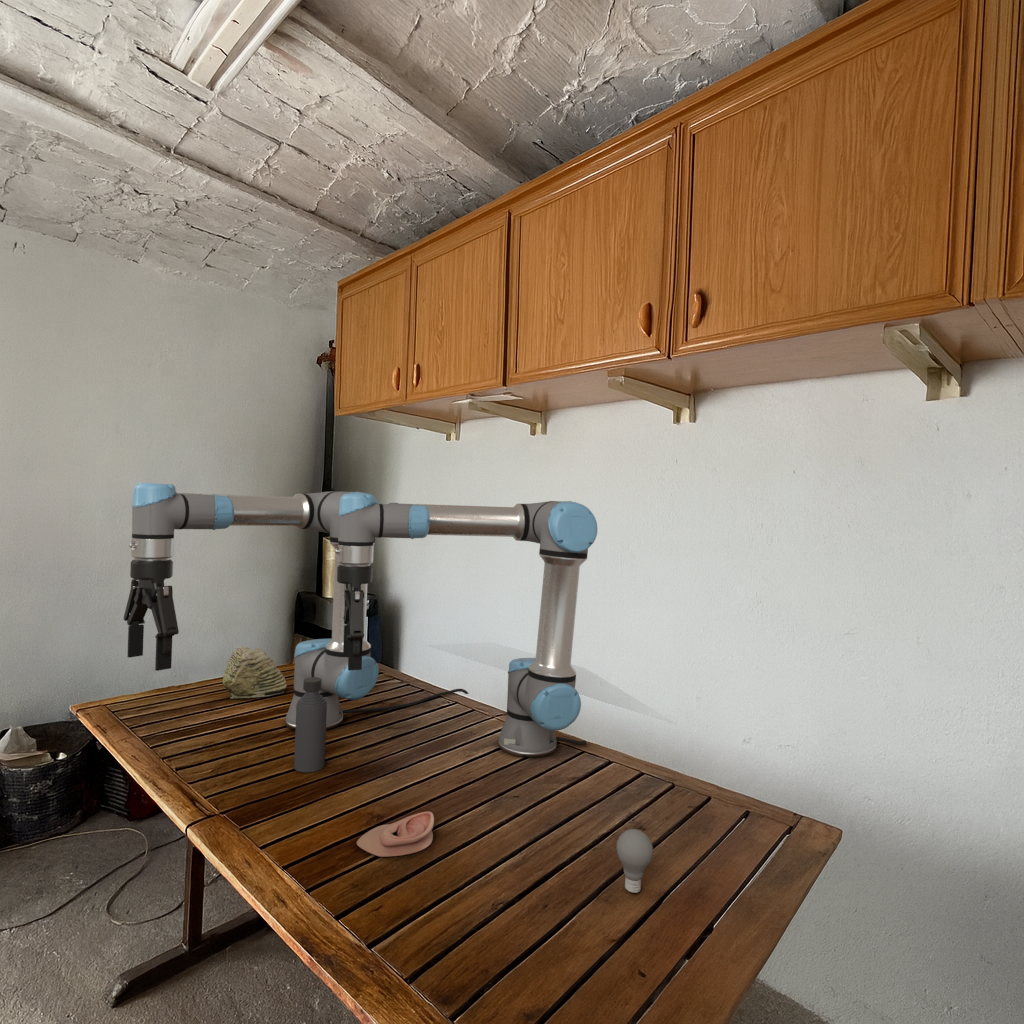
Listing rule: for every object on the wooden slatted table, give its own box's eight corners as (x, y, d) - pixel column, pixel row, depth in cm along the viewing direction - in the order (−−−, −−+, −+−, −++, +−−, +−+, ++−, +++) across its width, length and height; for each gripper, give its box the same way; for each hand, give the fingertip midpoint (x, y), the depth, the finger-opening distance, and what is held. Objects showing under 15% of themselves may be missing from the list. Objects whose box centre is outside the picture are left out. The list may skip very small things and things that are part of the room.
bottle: (319, 773, 145) (322, 686, 145) (289, 771, 145) (292, 684, 145) (328, 761, 152) (331, 677, 151) (299, 759, 152) (303, 676, 151)
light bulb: (610, 879, 108) (613, 822, 108) (644, 879, 109) (647, 822, 109) (619, 902, 102) (622, 840, 102) (655, 901, 103) (658, 840, 103)
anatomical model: (349, 829, 113) (376, 800, 125) (348, 851, 113) (375, 820, 125) (420, 841, 111) (440, 810, 122) (419, 863, 111) (439, 830, 122)
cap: (318, 691, 146) (318, 682, 146) (300, 691, 146) (301, 681, 146) (323, 686, 150) (324, 677, 150) (306, 685, 150) (306, 676, 150)
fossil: (218, 695, 195) (220, 647, 195) (278, 685, 208) (279, 640, 207) (228, 703, 189) (230, 653, 188) (289, 692, 201) (290, 645, 201)
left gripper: (108, 554, 134) (104, 654, 134) (159, 565, 118) (155, 678, 119) (146, 552, 140) (143, 648, 140) (199, 563, 124) (195, 671, 124)
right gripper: (333, 558, 149) (330, 648, 149) (341, 571, 125) (338, 678, 125) (366, 558, 151) (363, 647, 151) (380, 571, 127) (376, 676, 128)
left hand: (148, 662), depth 129 cm, fingers open, 13 cm apart
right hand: (351, 661), depth 138 cm, fingers open, 13 cm apart
